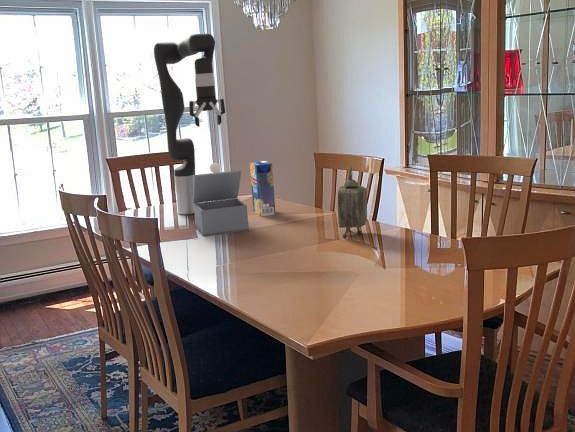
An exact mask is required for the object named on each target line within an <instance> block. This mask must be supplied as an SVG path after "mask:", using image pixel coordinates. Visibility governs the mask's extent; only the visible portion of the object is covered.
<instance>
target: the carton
mask: <svg viewBox="0 0 575 432" xmlns="http://www.w3.org/2000/svg"><path fill="white" fill-rule="evenodd" d="M194 211H195V213H194V219H195V220H194V221H195V228H196V230H197V231H198V232H199V233H200V234H201V236H202V237H209V236H214V235H215V236H216V235H224V234H232V233H238V232H239V233H240V232H246V231H249V230H250V229H249V216H248V205H247V204H246V203H244V202H243V201H241V200H240V199H239V198H235V199H227V200H218V201H210V202H201V203H194Z"/></svg>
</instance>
